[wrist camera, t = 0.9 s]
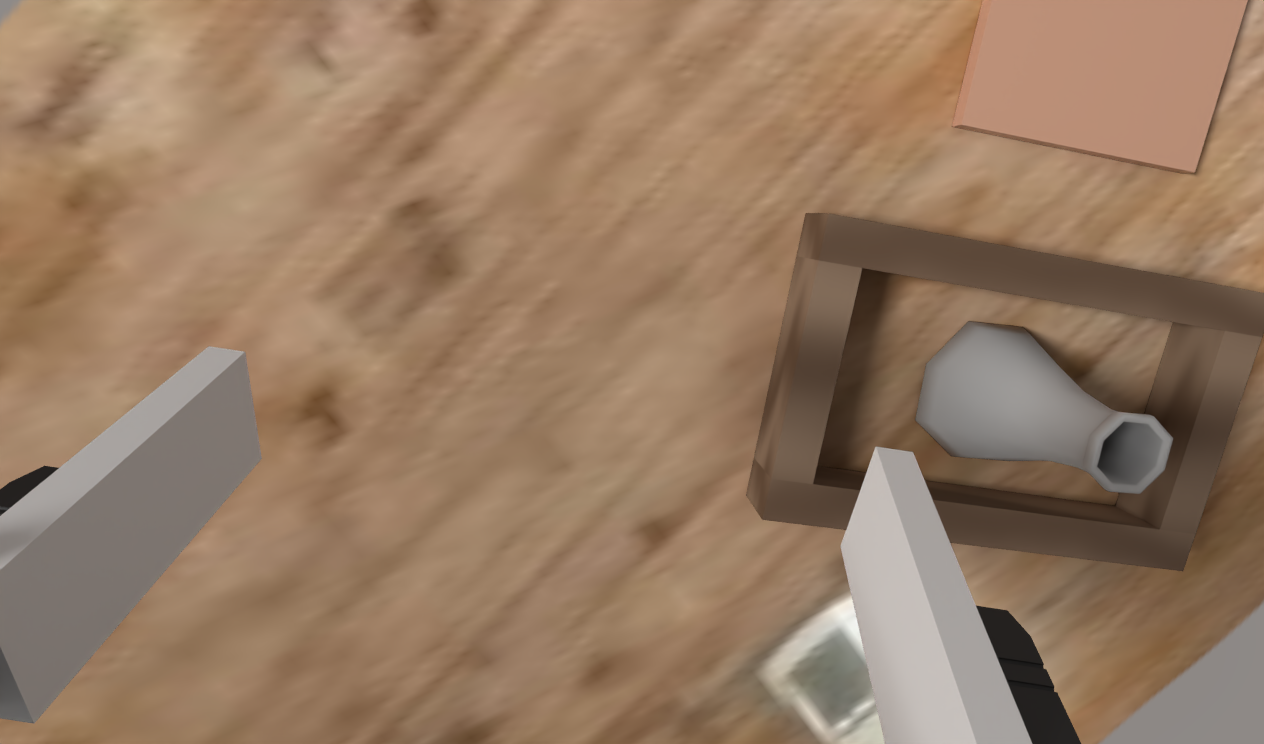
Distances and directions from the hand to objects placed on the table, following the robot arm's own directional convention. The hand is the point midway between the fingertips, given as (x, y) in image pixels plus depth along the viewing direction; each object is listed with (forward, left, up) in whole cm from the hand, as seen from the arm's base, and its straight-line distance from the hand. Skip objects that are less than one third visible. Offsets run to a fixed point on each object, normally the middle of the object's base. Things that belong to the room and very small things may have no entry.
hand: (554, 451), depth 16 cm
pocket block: (0, -22, -19) cm, 29 cm away
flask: (0, -22, -20) cm, 29 cm away
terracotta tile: (+18, -23, -19) cm, 35 cm away
